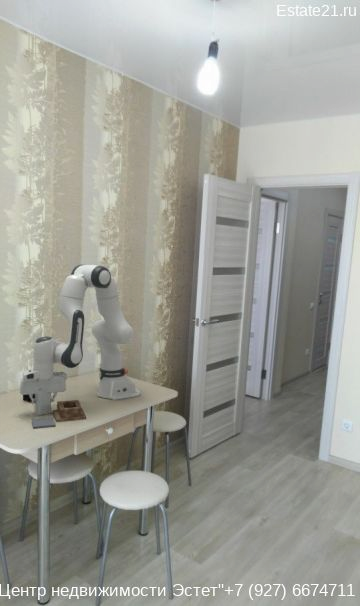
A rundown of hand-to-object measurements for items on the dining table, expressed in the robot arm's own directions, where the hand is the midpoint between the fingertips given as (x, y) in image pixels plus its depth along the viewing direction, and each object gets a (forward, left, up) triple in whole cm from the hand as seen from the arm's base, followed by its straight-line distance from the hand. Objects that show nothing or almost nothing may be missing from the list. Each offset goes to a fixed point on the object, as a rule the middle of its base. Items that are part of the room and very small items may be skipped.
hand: (43, 402), depth 206 cm
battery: (+4, -19, -5) cm, 20 cm away
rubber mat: (+1, +13, -5) cm, 14 cm away
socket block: (-11, +6, -5) cm, 14 cm away
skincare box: (0, 0, -5) cm, 5 cm away
